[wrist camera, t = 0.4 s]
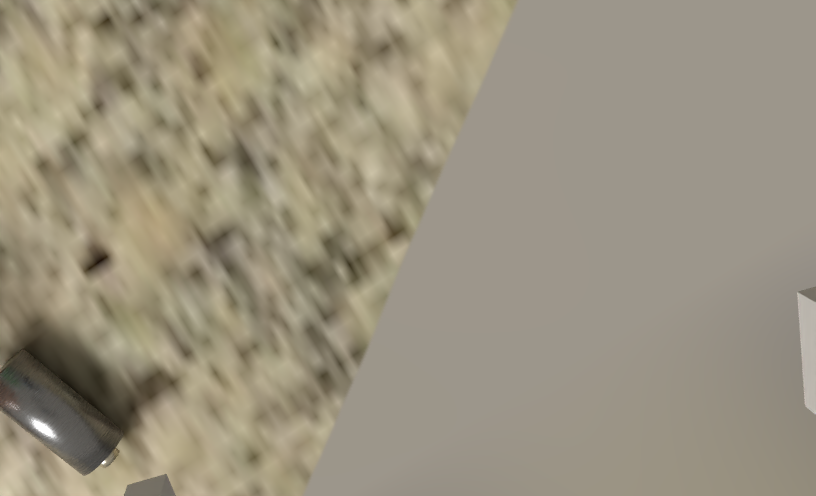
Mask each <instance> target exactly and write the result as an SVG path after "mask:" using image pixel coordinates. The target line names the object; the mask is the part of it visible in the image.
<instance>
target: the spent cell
mask: <svg viewBox="0 0 816 496" xmlns="http://www.w3.org/2000/svg"><path fill="white" fill-rule="evenodd" d="M0 411H2V412H3V413H4V414H5V415H7V416H8V417H9V418H11V419H12V420H13V421H14V422H16V423H17V424H18V425H19V426H21V427H22V428H23V429H25V430H26V431H27V432H28V433H30V434H31V435H32V436H33V437H35V438H36V439H37V440H39V441H40V442H41V443H42V444H44V445H45V446H46V447H47V448H49V449H50V450H51V451H53V452H54V453H55V454H56V455H58V456H59V457H60V458H61V459H63V460H64V461H65V462H66V463H68V464H69V465H70V466H72V467H73V468H74V469H75V470H77V471H78V472H79V473H80V474H82V475H83V476H85V475H87V474H89V473H91V472H92V471H93V470H95V469H96V468H97V467H98V466H99V465H100V466H101V467H102V468H106V467H107V466H109V465H110V464H111V463H112V462H113V461H114V460H115V458H116V457H117V456H118V454H119V450H118V449H117V448H115V447H116V446H117V445H118V443H119V442H120V440H121V438H122V436H123V431H122V430H121V429H120V428H119V427H118V426H116V425H115V424H114V423H113V422H111V421H110V420H109V419H108V418H107V417H105V416H104V415H103V414H102V413H101V412H99V411H98V410H97V409H96V408H95V407H93V406H92V405H91V404H90V403H89V402H87V401H86V400H85V399H84V398H83V397H81V396H80V395H79V394H78V393H76V392H75V391H74V390H73V389H72V388H70V387H69V386H68V385H67V384H66V383H64V382H63V381H62V380H61V379H60V378H58V377H57V376H56V375H55V374H54V373H52V372H51V371H50V370H49V369H48V368H46V367H45V366H44V365H43V364H41V363H40V362H39V361H38V360H37V359H35V358H34V357H33V356H32V355H31V354H29V353H28V352H27V351H26V350H25V349H23V350H21V351H20V352H19V353H17V354H16V355H15V356H14V357H13V358H12V359H10V360H9V361H8V362H7V363H6V364H5V365H4V366H3V367H2V368H1V369H0Z"/></svg>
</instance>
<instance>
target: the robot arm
mask: <svg viewBox="0 0 816 496" xmlns="http://www.w3.org/2000/svg"><path fill="white" fill-rule="evenodd" d="M797 296H798V310H799V325H800V339H801V352H802V367H803V382H804V397H805V406H806V407H807V408H808V409H810V410H811V411H812V412H813V413H814V414H816V287H813V288H809V289H806V290H802V291H799V292H797ZM124 496H176V495H175V493H174V491H173V488H172V486H171V484H170V481H169V479H168V476H167V474H164V475H161V476H157V477H154V478H151V479H147V480H144V481H140V482H137V483H133V484H130V485H128V486H127V488H126V491H125V494H124Z"/></svg>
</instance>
